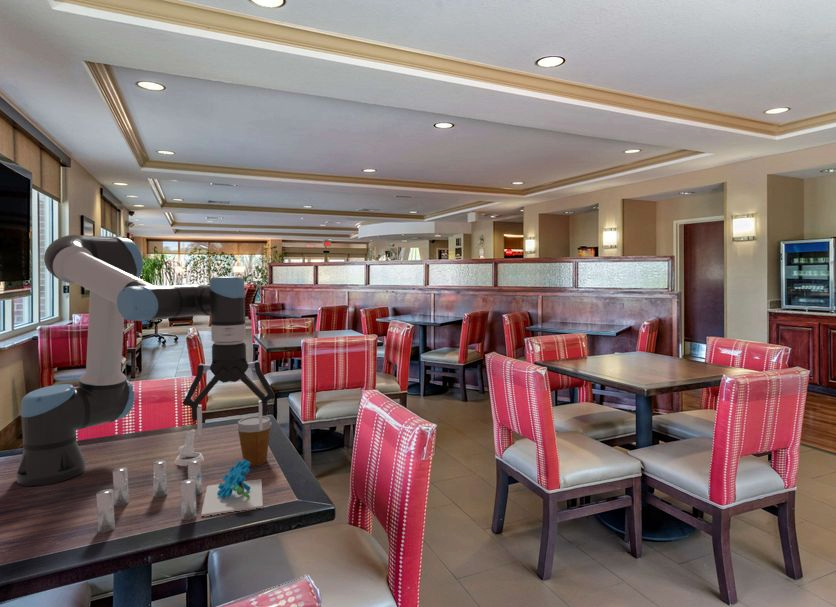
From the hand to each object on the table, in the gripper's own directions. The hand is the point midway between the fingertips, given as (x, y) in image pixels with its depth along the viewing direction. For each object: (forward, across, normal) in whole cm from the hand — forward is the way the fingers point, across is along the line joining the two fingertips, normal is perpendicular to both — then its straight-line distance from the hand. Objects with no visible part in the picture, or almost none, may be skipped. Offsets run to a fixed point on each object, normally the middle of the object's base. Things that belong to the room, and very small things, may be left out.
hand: (230, 431), depth 122 cm
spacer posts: (+16, -17, -1) cm, 23 cm away
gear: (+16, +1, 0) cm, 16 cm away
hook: (+17, -13, +30) cm, 36 cm away
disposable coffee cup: (+17, +5, +23) cm, 29 cm away
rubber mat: (+16, 0, 0) cm, 16 cm away
